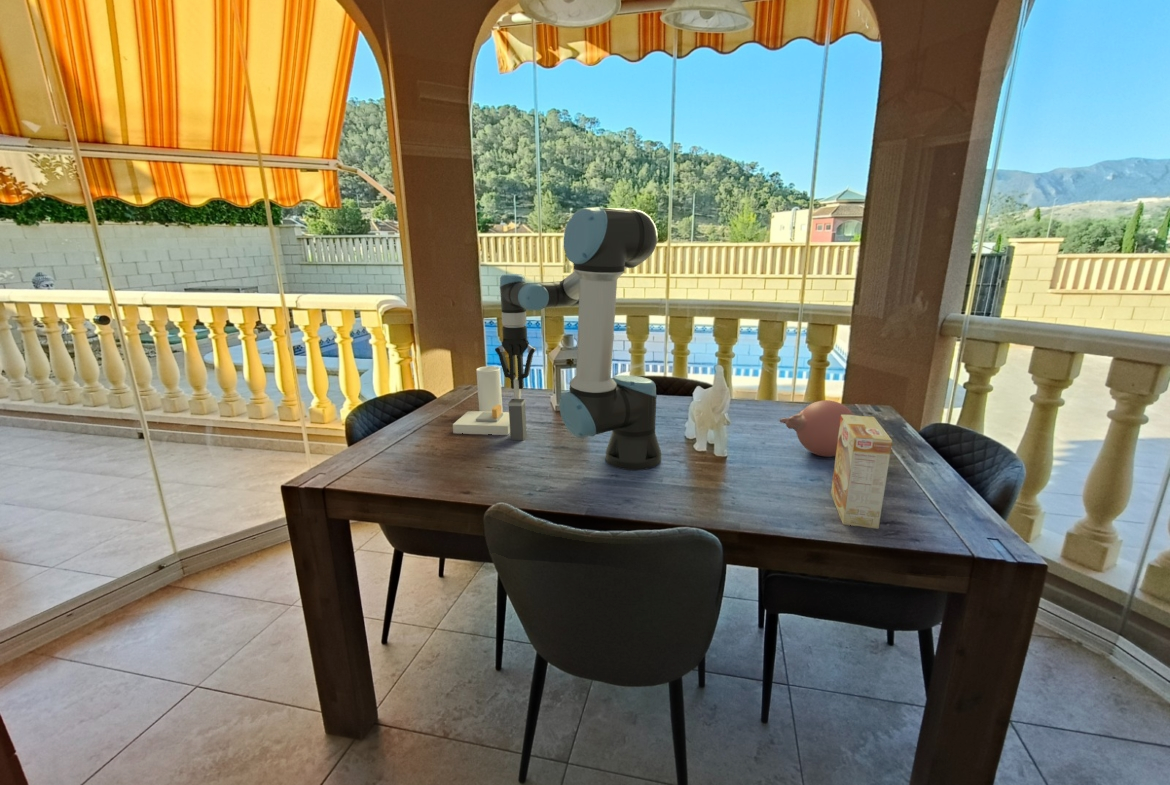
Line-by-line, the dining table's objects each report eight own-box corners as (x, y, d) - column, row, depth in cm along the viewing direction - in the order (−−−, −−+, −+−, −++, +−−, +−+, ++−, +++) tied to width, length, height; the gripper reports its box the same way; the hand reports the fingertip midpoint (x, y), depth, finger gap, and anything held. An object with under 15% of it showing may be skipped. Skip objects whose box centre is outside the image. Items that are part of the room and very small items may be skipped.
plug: (526, 435, 158) (524, 399, 155) (523, 440, 154) (521, 403, 151) (514, 435, 158) (512, 398, 155) (510, 440, 154) (508, 402, 151)
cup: (483, 408, 187) (480, 365, 182) (505, 408, 186) (502, 366, 181) (476, 414, 179) (472, 371, 175) (498, 415, 178) (495, 371, 173)
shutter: (503, 415, 168) (502, 404, 167) (496, 421, 162) (496, 410, 161) (483, 414, 169) (482, 403, 168) (476, 421, 163) (475, 409, 162)
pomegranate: (773, 441, 150) (777, 391, 146) (846, 446, 146) (852, 395, 142) (780, 461, 136) (785, 407, 132) (861, 467, 131) (869, 411, 127)
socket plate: (519, 420, 172) (519, 412, 171) (508, 435, 159) (507, 426, 158) (468, 419, 174) (468, 411, 174) (453, 433, 161) (452, 424, 160)
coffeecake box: (829, 492, 118) (839, 413, 113) (863, 496, 116) (875, 416, 111) (841, 524, 104) (853, 436, 99) (879, 529, 102) (894, 440, 97)
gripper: (537, 324, 159) (540, 395, 165) (497, 323, 160) (501, 394, 167) (532, 327, 152) (534, 402, 158) (490, 327, 153) (494, 401, 160)
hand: (517, 398), depth 163 cm, fingers closed
